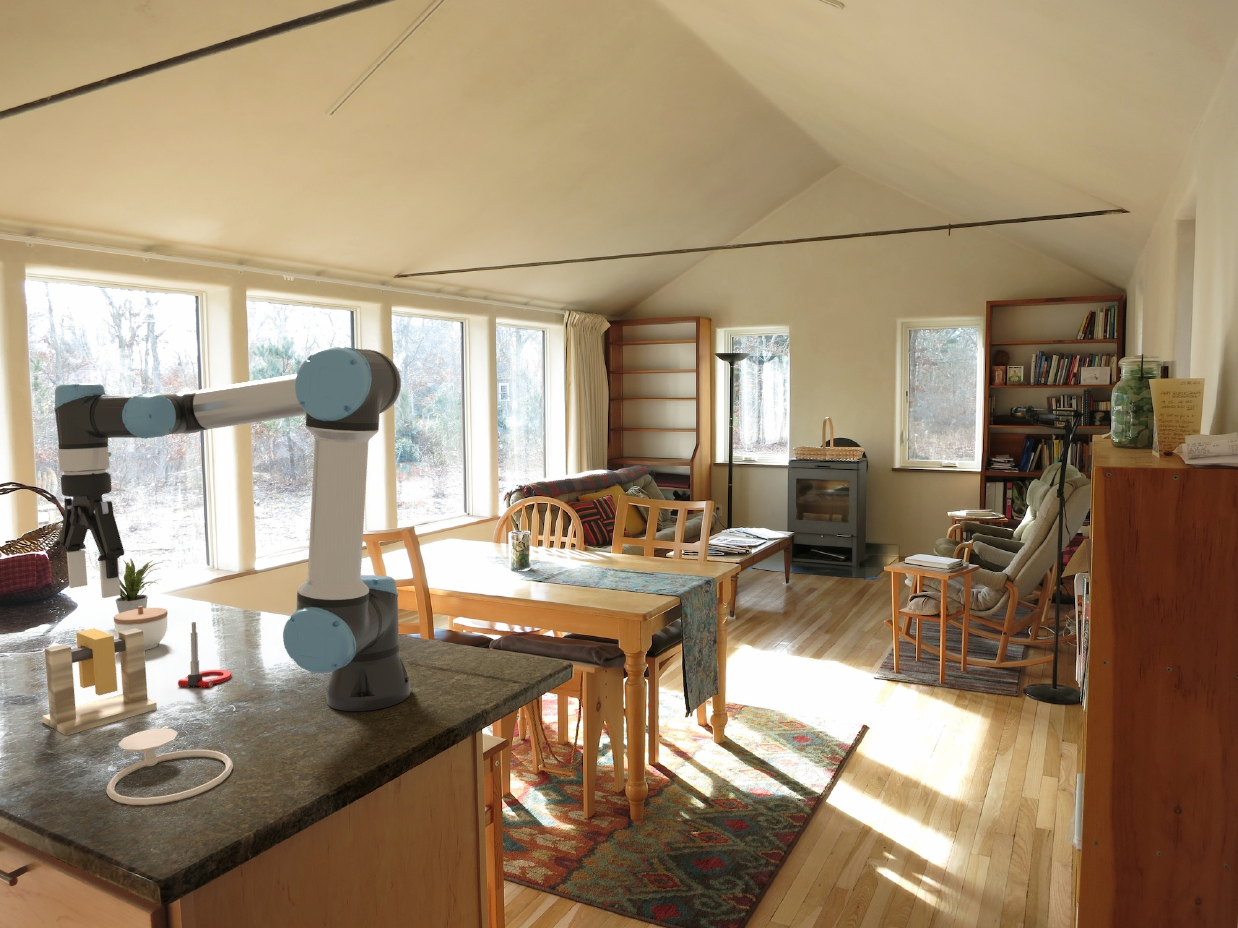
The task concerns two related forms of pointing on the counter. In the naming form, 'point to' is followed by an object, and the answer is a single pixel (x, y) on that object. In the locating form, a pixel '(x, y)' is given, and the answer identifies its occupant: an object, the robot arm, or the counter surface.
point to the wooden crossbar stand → (102, 711)
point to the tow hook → (196, 676)
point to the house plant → (133, 588)
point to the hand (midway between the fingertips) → (94, 591)
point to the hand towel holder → (148, 744)
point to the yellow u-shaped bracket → (98, 661)
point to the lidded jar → (144, 624)
